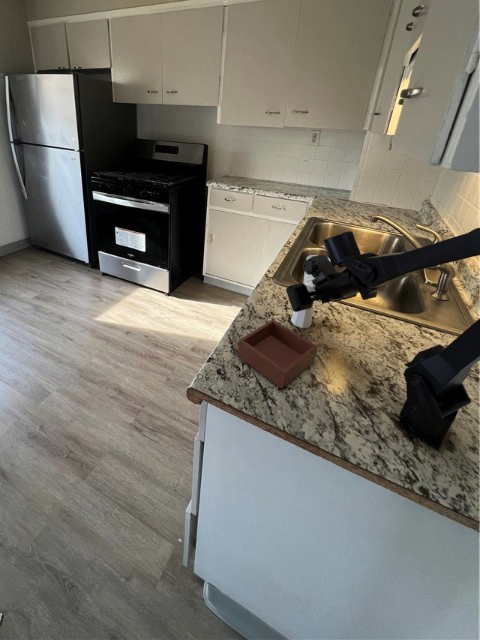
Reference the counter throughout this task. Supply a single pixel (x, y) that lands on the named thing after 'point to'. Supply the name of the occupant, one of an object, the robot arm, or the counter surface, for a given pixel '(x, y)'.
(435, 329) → the counter surface
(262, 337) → the bin
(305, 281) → the white cup
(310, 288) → the salt shaker
